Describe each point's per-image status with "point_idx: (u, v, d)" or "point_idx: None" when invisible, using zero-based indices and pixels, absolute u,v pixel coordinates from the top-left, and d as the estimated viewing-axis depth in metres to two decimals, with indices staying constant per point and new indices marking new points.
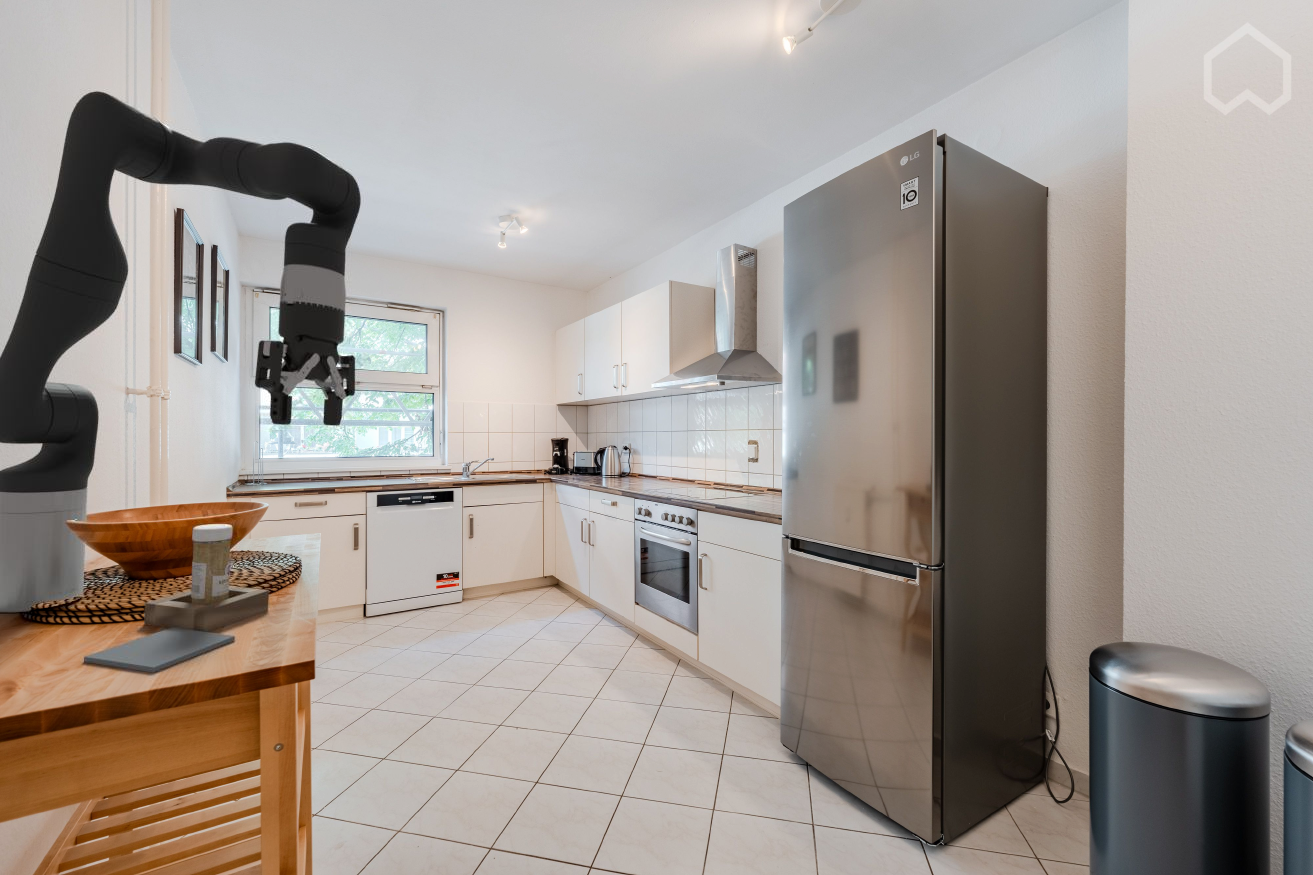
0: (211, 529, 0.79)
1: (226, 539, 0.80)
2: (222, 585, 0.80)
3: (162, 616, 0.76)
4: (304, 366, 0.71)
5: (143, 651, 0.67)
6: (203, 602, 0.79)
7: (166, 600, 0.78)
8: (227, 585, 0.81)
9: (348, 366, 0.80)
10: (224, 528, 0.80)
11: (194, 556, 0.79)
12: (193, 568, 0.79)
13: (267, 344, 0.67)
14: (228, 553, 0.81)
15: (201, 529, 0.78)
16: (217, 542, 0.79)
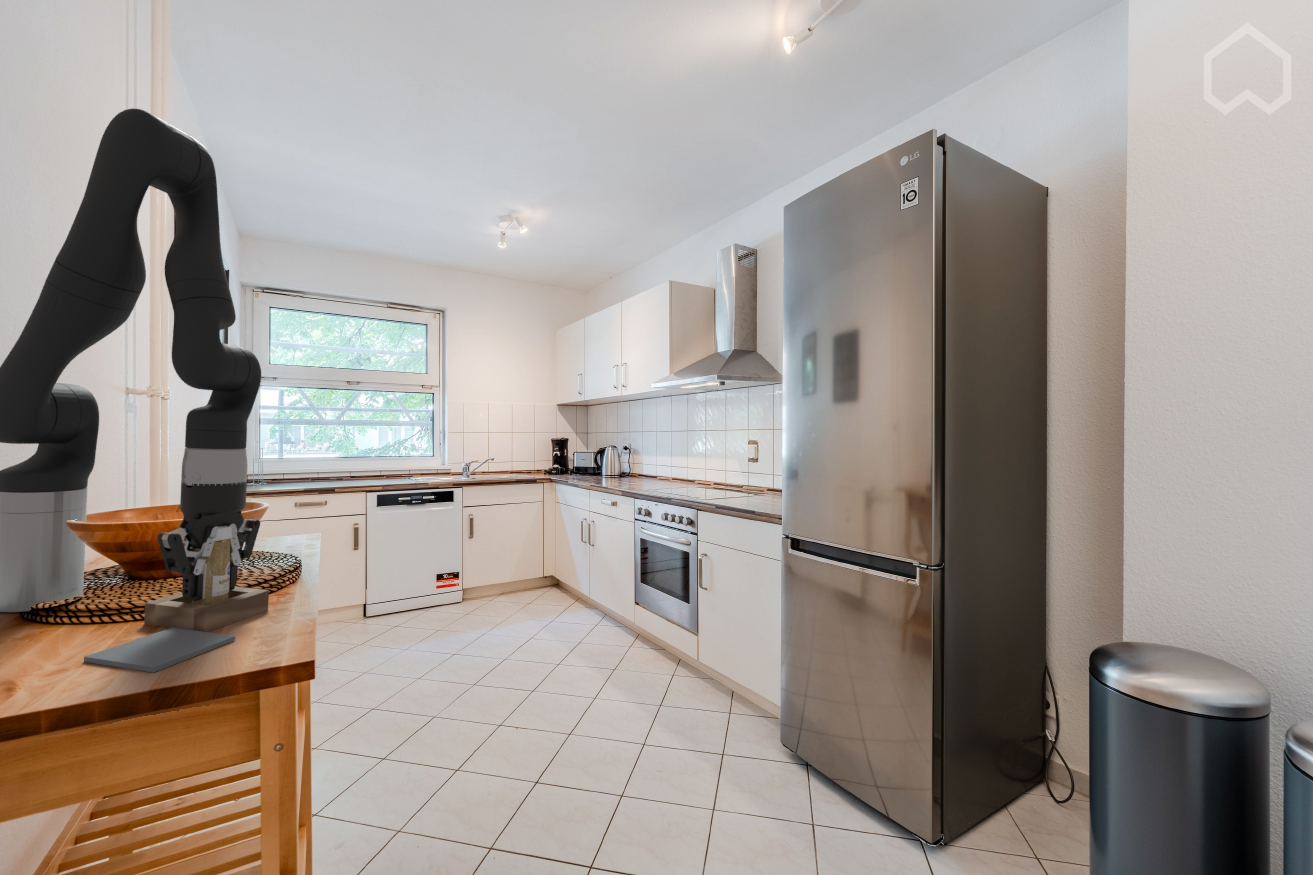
0: None
1: (226, 539, 0.80)
2: (222, 585, 0.80)
3: (162, 616, 0.76)
4: (206, 544, 0.78)
5: (143, 651, 0.67)
6: (203, 602, 0.79)
7: (166, 600, 0.78)
8: (227, 585, 0.81)
9: (251, 530, 0.85)
10: (224, 528, 0.80)
11: None
12: None
13: (165, 539, 0.74)
14: (228, 553, 0.81)
15: None
16: (217, 542, 0.79)
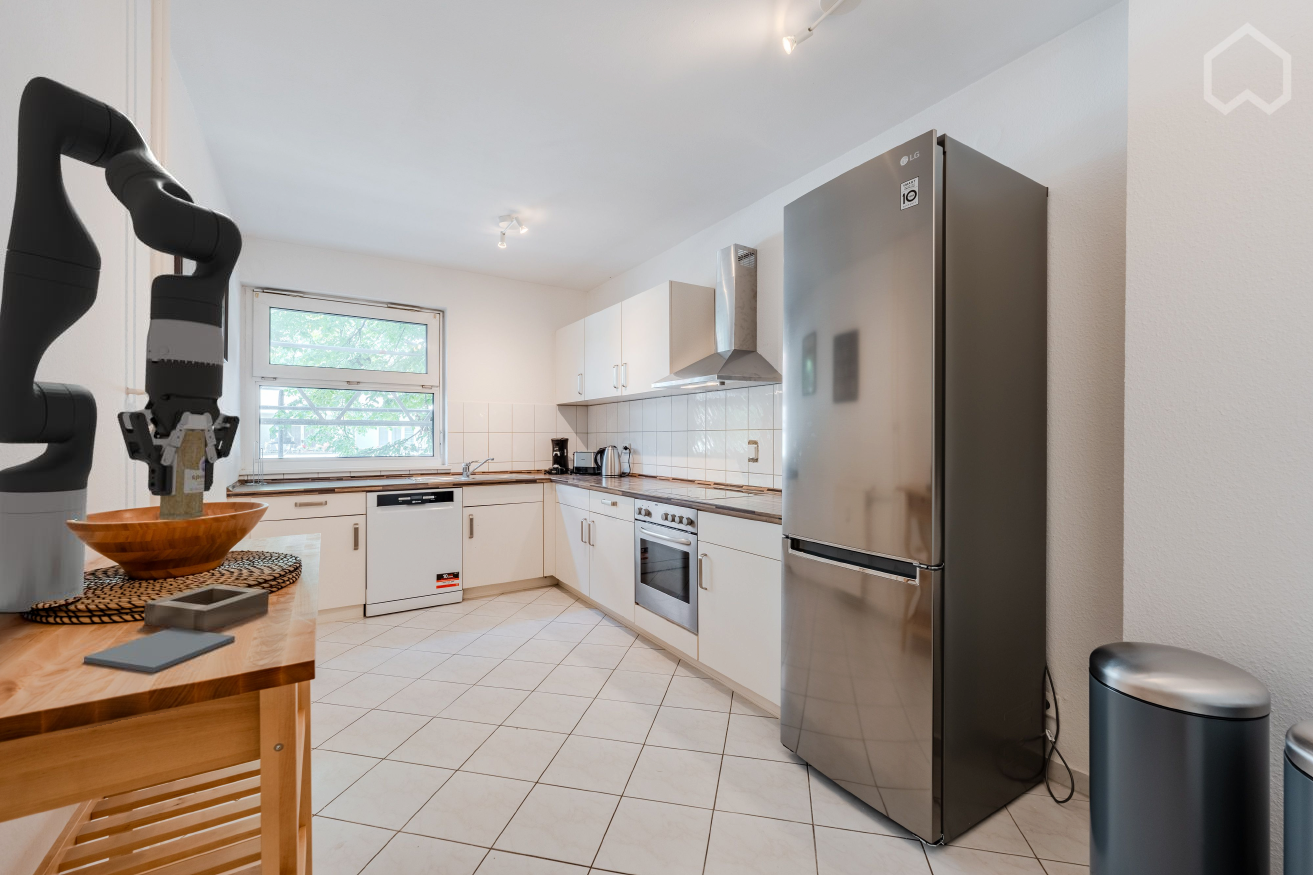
0: None
1: (200, 429, 0.70)
2: (196, 481, 0.70)
3: (162, 616, 0.76)
4: (176, 430, 0.68)
5: (143, 651, 0.67)
6: (174, 499, 0.68)
7: (166, 600, 0.78)
8: (202, 482, 0.71)
9: (228, 426, 0.75)
10: (198, 416, 0.70)
11: None
12: None
13: (126, 418, 0.64)
14: (203, 446, 0.71)
15: None
16: (190, 430, 0.69)
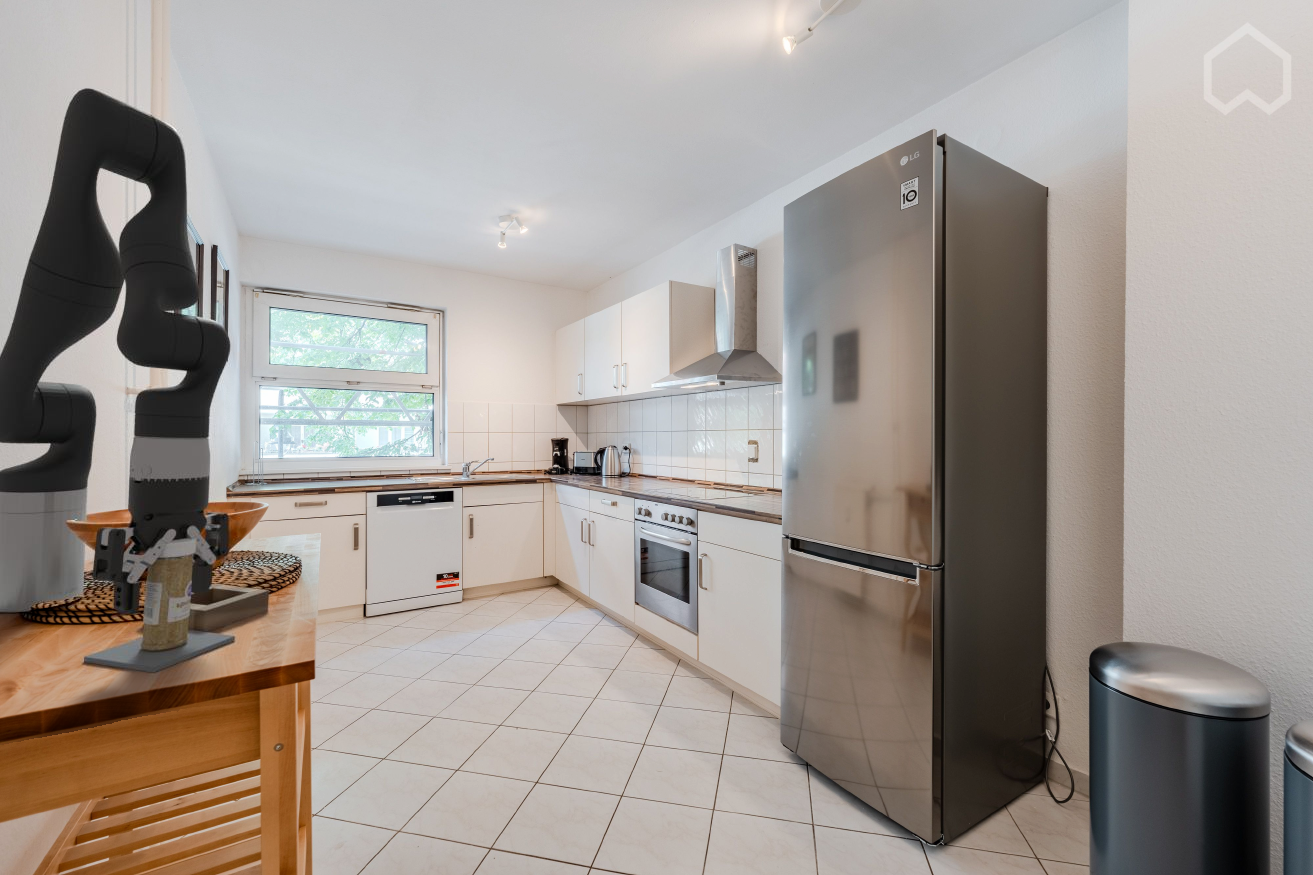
0: (169, 543, 0.67)
1: (187, 555, 0.69)
2: (181, 609, 0.68)
3: None
4: (155, 547, 0.65)
5: (143, 651, 0.67)
6: (157, 629, 0.67)
7: None
8: (187, 608, 0.69)
9: (219, 526, 0.74)
10: (185, 542, 0.68)
11: (148, 574, 0.67)
12: (147, 588, 0.67)
13: (105, 534, 0.62)
14: (190, 571, 0.69)
15: None
16: (176, 558, 0.67)
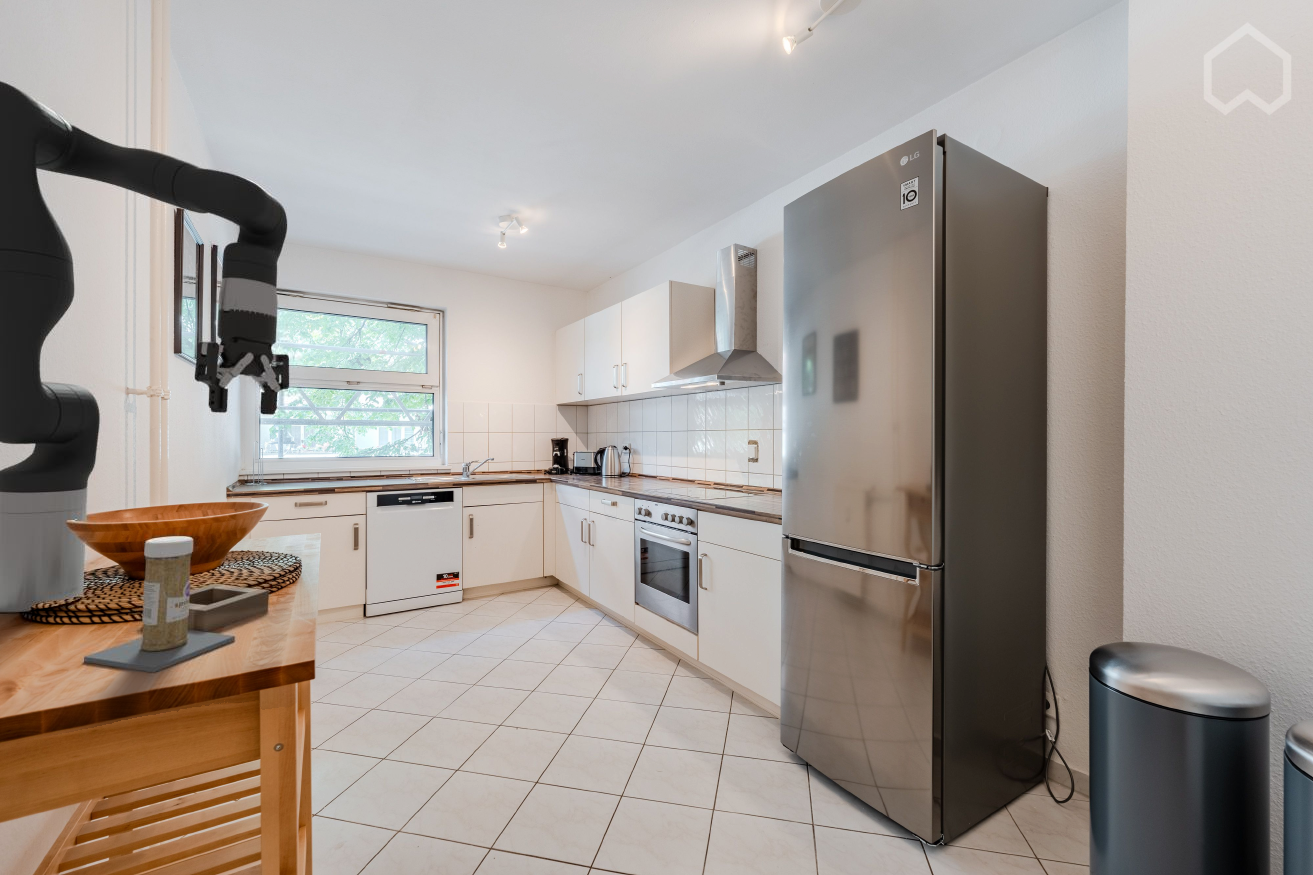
0: (166, 543, 0.67)
1: (184, 554, 0.69)
2: (179, 609, 0.68)
3: None
4: (238, 363, 0.84)
5: (143, 651, 0.67)
6: (156, 629, 0.67)
7: None
8: (186, 608, 0.69)
9: (282, 364, 0.93)
10: (182, 542, 0.68)
11: (146, 574, 0.67)
12: (145, 589, 0.67)
13: (205, 345, 0.81)
14: (187, 571, 0.69)
15: (154, 543, 0.67)
16: (173, 558, 0.67)
